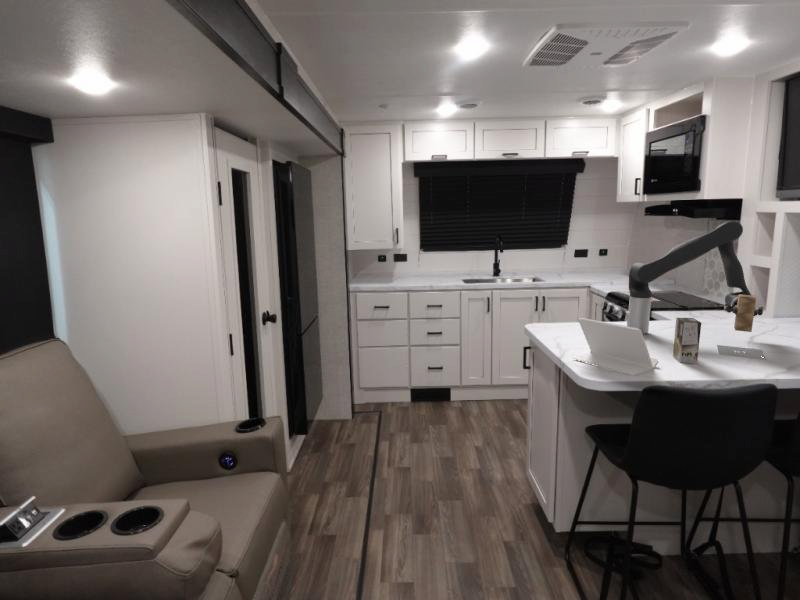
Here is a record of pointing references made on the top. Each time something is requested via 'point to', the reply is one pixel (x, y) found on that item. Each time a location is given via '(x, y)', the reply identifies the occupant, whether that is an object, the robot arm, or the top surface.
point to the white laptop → (616, 347)
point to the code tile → (741, 352)
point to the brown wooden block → (745, 313)
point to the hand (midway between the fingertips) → (745, 312)
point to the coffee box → (686, 340)
